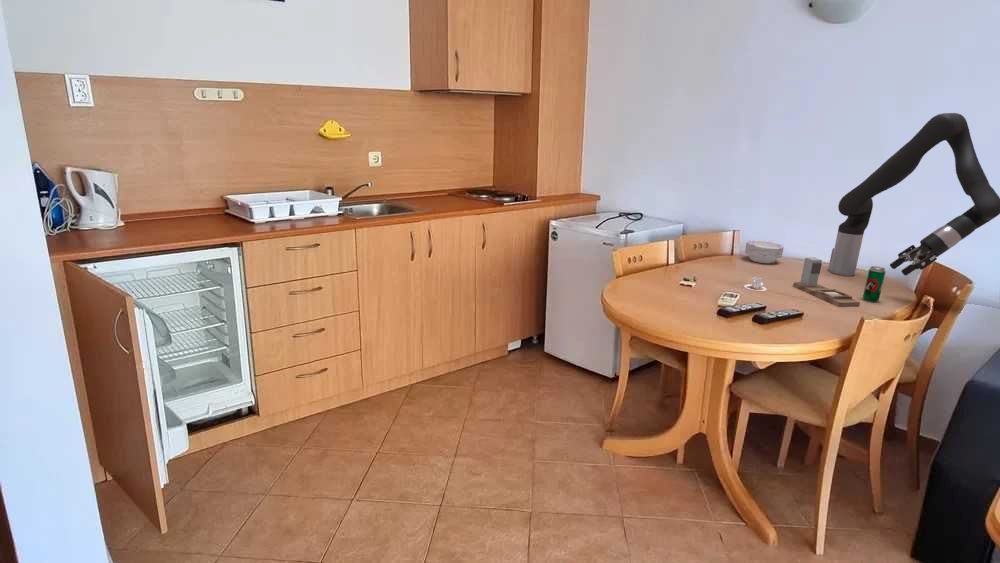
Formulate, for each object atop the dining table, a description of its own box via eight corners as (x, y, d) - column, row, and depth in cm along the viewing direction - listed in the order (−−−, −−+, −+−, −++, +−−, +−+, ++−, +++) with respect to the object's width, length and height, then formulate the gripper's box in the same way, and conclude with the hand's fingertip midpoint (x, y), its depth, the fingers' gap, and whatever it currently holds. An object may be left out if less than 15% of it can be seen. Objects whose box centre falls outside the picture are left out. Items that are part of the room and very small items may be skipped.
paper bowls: (787, 266, 257) (790, 248, 255) (752, 264, 256) (755, 246, 254) (771, 257, 271) (774, 240, 269) (738, 256, 271) (741, 239, 269)
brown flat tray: (793, 286, 227) (794, 280, 226) (811, 285, 228) (812, 279, 228) (839, 306, 204) (840, 300, 204) (859, 306, 206) (860, 299, 205)
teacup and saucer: (755, 284, 228) (757, 274, 227) (772, 290, 221) (774, 280, 220) (739, 286, 224) (740, 276, 223) (755, 293, 218) (757, 282, 216)
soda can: (881, 302, 211) (888, 270, 207) (865, 301, 212) (872, 268, 208) (875, 298, 215) (882, 266, 212) (860, 297, 216) (867, 265, 213)
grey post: (800, 283, 226) (805, 257, 223) (809, 282, 227) (814, 257, 224) (808, 286, 221) (814, 260, 218) (818, 286, 222) (823, 260, 219)
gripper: (923, 228, 211) (881, 257, 216) (946, 236, 197) (900, 267, 202) (935, 244, 212) (893, 272, 217) (959, 253, 198) (913, 283, 203)
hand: (897, 270), depth 209 cm, fingers open, 8 cm apart
